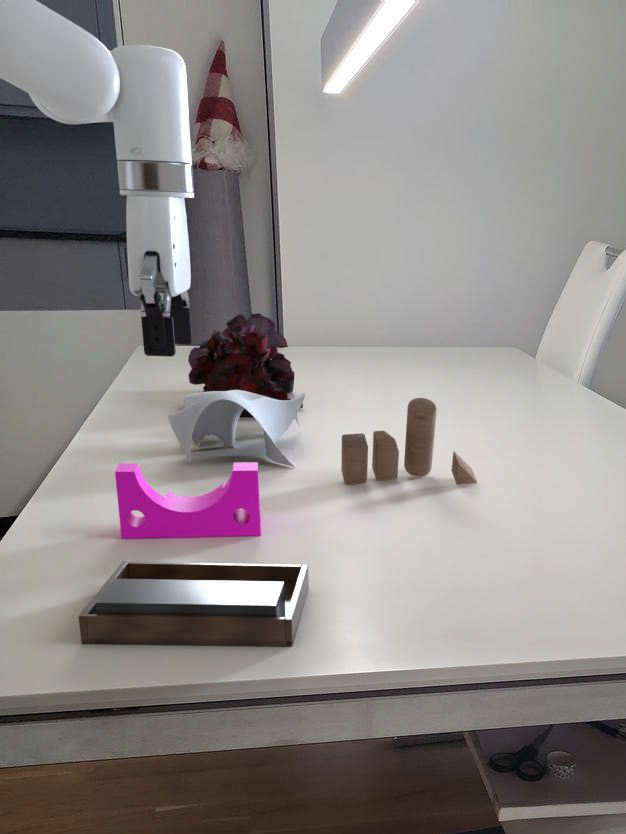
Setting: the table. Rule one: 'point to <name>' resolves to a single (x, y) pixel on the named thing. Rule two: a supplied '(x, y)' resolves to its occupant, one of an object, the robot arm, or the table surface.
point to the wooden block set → (387, 452)
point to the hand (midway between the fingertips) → (169, 349)
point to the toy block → (189, 507)
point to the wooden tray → (197, 604)
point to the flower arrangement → (244, 360)
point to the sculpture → (233, 418)
